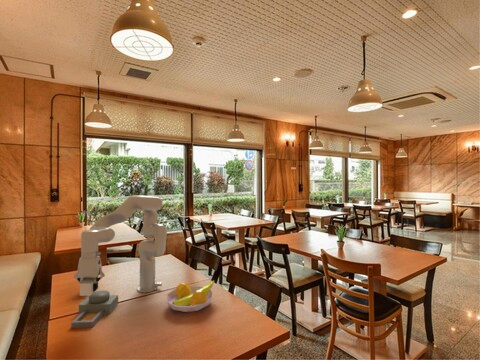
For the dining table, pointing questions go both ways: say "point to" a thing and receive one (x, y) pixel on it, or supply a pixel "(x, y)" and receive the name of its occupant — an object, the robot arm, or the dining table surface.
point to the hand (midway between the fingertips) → (89, 290)
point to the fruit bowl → (189, 297)
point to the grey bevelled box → (86, 287)
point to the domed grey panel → (94, 308)
